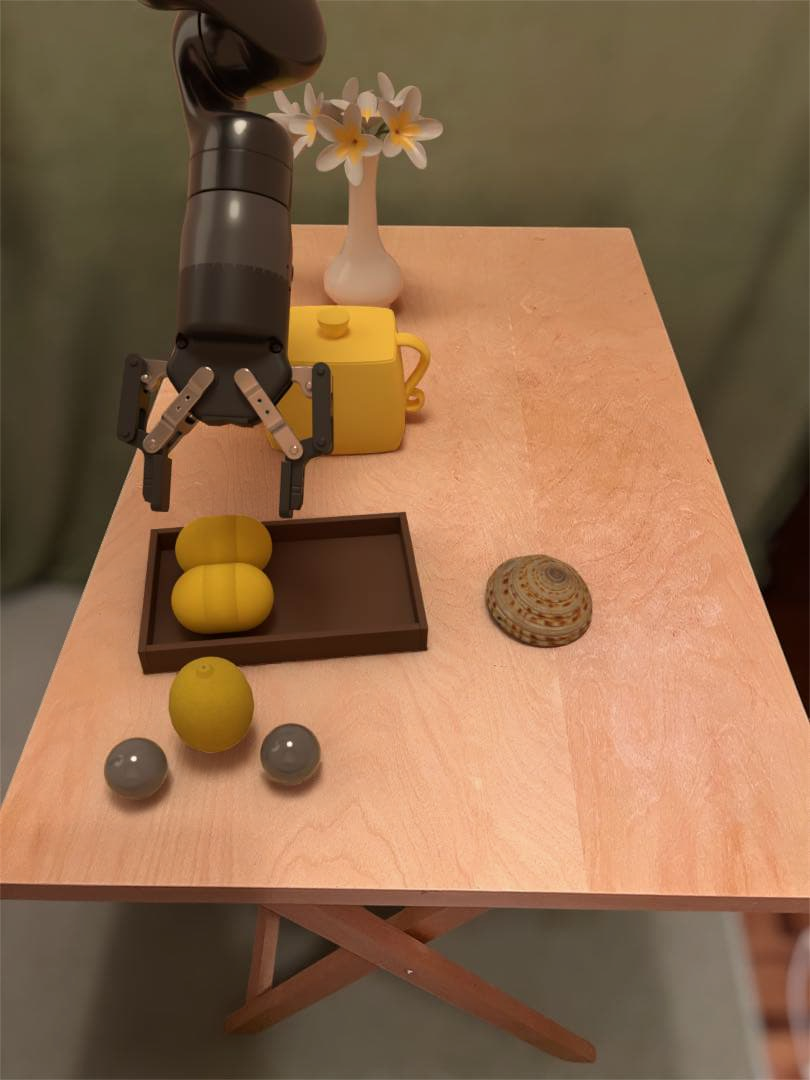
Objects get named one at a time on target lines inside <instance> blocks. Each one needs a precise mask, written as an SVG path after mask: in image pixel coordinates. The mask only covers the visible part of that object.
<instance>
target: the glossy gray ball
mask: <svg viewBox="0 0 810 1080" xmlns="http://www.w3.org/2000/svg"><path fill="white" fill-rule="evenodd" d="M168 770H169V762H168V758H167V755H166V753H165V751H164V749H163V748H162V747H161V746H160V745H159V744H158V743H157V742H155V741H154V740H152V739H150V738H147V737H142V736H133V737H129V738H126V739H123V740H121V741H119V742H118V743H117V744H116V745H115V746H114V747H113V748H112V749H111V750H110V751H109V753H108V754H107V756H106V758H105V761H104V766H103V778H104V781H105V783H106V786H107V787H108V789H109V790H110V791H111V792H112V793H113V794H114V795H116V796H117V797H118V798H121V799H124V800H127V801H141V800H145V799H147V798H149V797H151V796H153V795H154V794H155V793H156V792H158V791H159V790H160V788H162V786H163V784H164V783H165V781H166V778H167V775H168Z"/></svg>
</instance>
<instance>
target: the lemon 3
mask: <svg viewBox="0 0 810 1080" xmlns="http://www.w3.org/2000/svg"><path fill="white" fill-rule="evenodd" d="M173 678H174V679H173V681H172V682H171V686H170V688H169V694H168V714H169V718H170V721H171V725H172V727H173V729H174V731H175V733H176V734H177V736H178V737H179V739H180V740H181V741H182V742H184V743H185V744H186V745H187V746H188V747H190V748H192V749H194V750H197V751H198V752H203V753H208V754H210V753H219V752H223V751H227V750H229V749H231V748H233V747H234V746H236V745H237V744H239V742H241V741H242V739H244V737H245V736H246V734H247V733H248V731H249V730H250V727H251V725H252V723H253V718H254V713H255V712H254V711H255V700H254V695H253V690H252V687H251V684H250V683H249V681H248V679H247V677H246V675H245V674H244V673H243V670H241V669H240V668H239V666H236V665H235V664H233V663H231V662H230V661H228V660H226V659H223V658H219V657H203V658H199V659H196V660H194V661H192V662H190V663H188V664H187V665H185V666H184V667H183V668H182V669H181V670H180V671H178V673H176V675H175V676H174V677H173Z"/></svg>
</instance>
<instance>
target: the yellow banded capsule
mask: <svg viewBox="0 0 810 1080" xmlns="http://www.w3.org/2000/svg"><path fill="white" fill-rule="evenodd" d="M183 527H184V528H183V529H182V531H181V532H180V534H179V536H178V538H177V541H176V546H175V552H176V558H177V561H178V563H179V565H180V566H181V568H182V569H183V570H184V572H187V571H188V570H190V569H192V568H194V567H197V566H202V565H213V564H226V563H246V564H250V565H253V566H255V567H257V568H258V569H260V570H261V571H262V570H263V569H264V568H265V566H266V565H267V564H268V562H269V560H270V557H271V553H272V541H271V537H270V534H269V532H268V531H267V529H266V527H265V526H264V525H263V524H262V523H261V521H259V520H258V519H257V518H254V517H252V516H251V515H246V514H227V515H226V514H225V515H211V516H202V517H198V518H195V519H193V520H192V521H190V522H188V523H187V524H186V525H185V526H183Z"/></svg>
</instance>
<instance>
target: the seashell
mask: <svg viewBox="0 0 810 1080" xmlns="http://www.w3.org/2000/svg"><path fill="white" fill-rule="evenodd" d="M485 598H486V603H487V605H488V606H487V607H488V608H489V611H490V613H491V614H492V616H493V618H494V619H495V620H496V622H497V623H498V624H499V625H500V626H501V627H502V628H503V629H504V630H505V631H506V632H508V634H511V635H512V636H514V637H516V638H517V639H519V640H520V641H523V642H525V643H527V644H531V645H535V646H539V647H559V646H563V645H566V644H569V643H571V642H573V641H576V640H577V639H578V638H580V637H581V636H582V635H583V634H584V633H585V632H586V630H587V629H588V627H589V626H590V623H591V621H592V615H593V599H592V594H591V592H590V589H589V587H588V584H587V582H586V581H585V580H584V578H583V577H582V575H581V574H580V573H579V572H578V571H577V570H575V568H574V567H573V566H571V565H570V564H569V563H568V562H565V561H563V560H561V559H558V558H555V557H553V556H550V555H547V554H540V553H539V554H529V555H523V556H517V557H511V558H508V559H507V560H505V561H504V562H502V563H501V564H499V565H498V566H496V568H495V569H494V570H493V572H492V573H491V574H490V576H489V577H488V580H487V582H486V587H485Z"/></svg>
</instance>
